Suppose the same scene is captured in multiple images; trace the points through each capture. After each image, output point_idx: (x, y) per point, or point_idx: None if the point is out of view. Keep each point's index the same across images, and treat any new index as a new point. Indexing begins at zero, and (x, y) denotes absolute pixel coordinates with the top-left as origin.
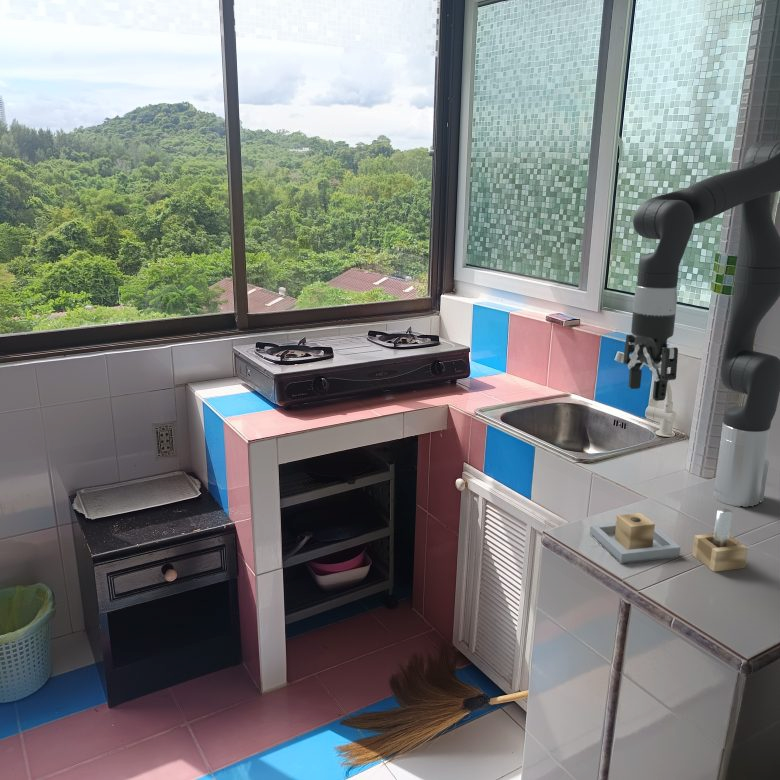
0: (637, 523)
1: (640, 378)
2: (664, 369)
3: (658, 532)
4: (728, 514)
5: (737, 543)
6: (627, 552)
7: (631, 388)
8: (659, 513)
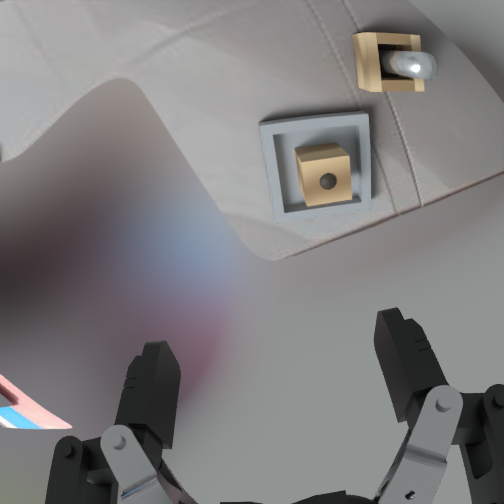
0: (342, 184)
1: (154, 382)
2: (492, 465)
3: (313, 124)
4: (437, 69)
5: (406, 40)
6: (368, 200)
7: (179, 367)
8: (190, 70)
